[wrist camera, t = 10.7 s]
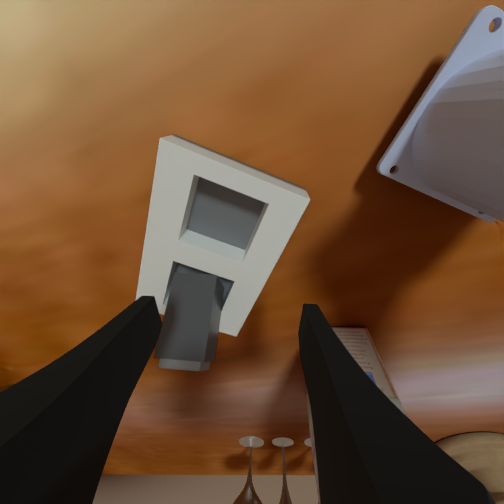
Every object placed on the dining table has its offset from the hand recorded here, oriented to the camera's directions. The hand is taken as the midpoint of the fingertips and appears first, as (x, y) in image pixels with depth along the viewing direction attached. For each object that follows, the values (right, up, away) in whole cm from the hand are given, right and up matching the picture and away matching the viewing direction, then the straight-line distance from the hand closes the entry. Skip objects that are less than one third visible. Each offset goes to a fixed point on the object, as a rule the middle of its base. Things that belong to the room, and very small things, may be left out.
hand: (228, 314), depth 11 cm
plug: (-3, 0, +9) cm, 10 cm away
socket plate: (-2, +4, +9) cm, 10 cm away
